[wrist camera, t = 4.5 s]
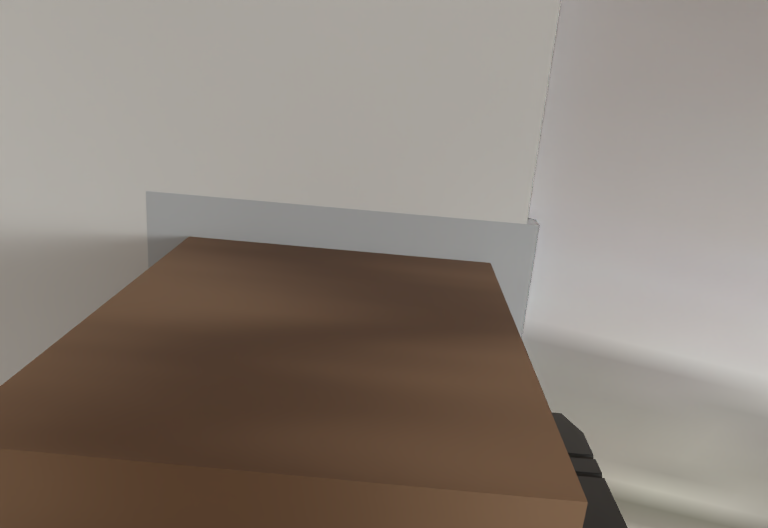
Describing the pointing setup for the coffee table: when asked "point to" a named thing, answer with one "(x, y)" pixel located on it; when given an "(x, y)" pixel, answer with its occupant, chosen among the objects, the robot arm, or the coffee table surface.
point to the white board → (260, 139)
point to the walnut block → (288, 401)
